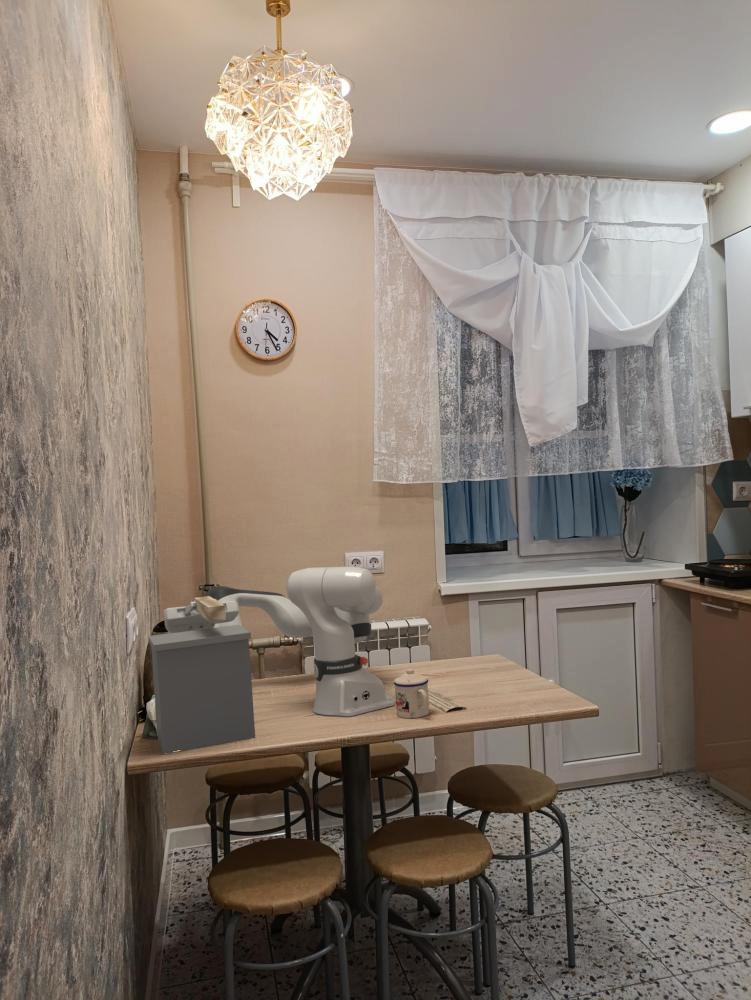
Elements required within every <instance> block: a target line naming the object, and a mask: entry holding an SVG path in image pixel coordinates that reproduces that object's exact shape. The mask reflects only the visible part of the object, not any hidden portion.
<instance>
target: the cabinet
mask: <svg viewBox="0 0 751 1000" xmlns="http://www.w3.org/2000/svg"><path fill="white" fill-rule="evenodd" d="M147 639H148V643H149V645H150V649H151V662H152V676H153V677H152V678H153V688H154V689H153V690H154V691H153V692H154V707H155V719H156V721H157V723H156V735H157V737H158V738H157V737H156V738H157V741H158V744H159V747H160V749H162V750H161V752H162V755H163V754H164V755H166V754H165V753H169V752H173V751H177V750H186V751H189V750H190V749H191V750H196V749H201V748H207V747H211V746H212V747H213V746H218V745H222V744H227V743H228V742H229V743H234V742H239V741H243V740H249V739H254V738H255V739H256V728H255V727H256V726H255V713H254V702H253V701H254V700H253V698H254V697H253V685H252V684H253V683H252V670H251V656H250V655H251V653H250V640H249V639H252V635H251V631H249V630H247V629H246V628H244V627H241V626H240V625H232V626H224V627H216V628H208V629H201V630H193V631H185V632H177V633H163V634H154V635H148V638H147ZM233 741H234V742H233ZM229 743H228V744H229ZM195 748H196V749H195ZM169 754H170V753H169Z"/></svg>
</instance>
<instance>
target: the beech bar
mask: <svg viewBox="0 0 751 1000" xmlns="http://www.w3.org/2000/svg"><path fill="white" fill-rule="evenodd" d="M194 601H196V604H197V608H196V610H195V611H196V612H198V613H199V614H200V615H202V616H203V617H204V618H205V619H207V620H208V621H209V622H211V621H219V620H226V613H225V605H223V604H222V603H220V602H218V601H217V600H215V599H213V598H212V597H210V596H206V597H204V596H200V597H199V596H198V597H194Z"/></svg>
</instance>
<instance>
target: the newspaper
mask: <svg viewBox="0 0 751 1000" xmlns="http://www.w3.org/2000/svg"><path fill="white" fill-rule="evenodd" d="M428 697H429V705H431V706H434V707H436V708H437V709H438V710H440V711H442V712H444V713H448V712H449V710H452V709H456V708H461V709H463V710H467V709H468V708H467V707H466V706H464V705H462V704H461V703H458V702H456V701H455V700H453V699H451V698H449V697H447V696H445V695H443V694H441V693H440V692H438V691H435V690H434V689H432V688H429V687H428Z"/></svg>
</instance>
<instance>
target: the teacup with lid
mask: <svg viewBox="0 0 751 1000" xmlns="http://www.w3.org/2000/svg"><path fill="white" fill-rule="evenodd" d="M428 683H429V679H428V677H427V676H425V675H424V674H423V675H422V674H419V673H418V672H415V669H413V668H407V669H406V671H405V673H403V674H401V675H400V676H398V677H395V678H394V679H393V684H394V695H395V696H394V697H395V709H396V716H398V717H400V718H403V719H419V718H422V717H426V716H427V715H430V703H429V697H428V688H429V685H428Z"/></svg>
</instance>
